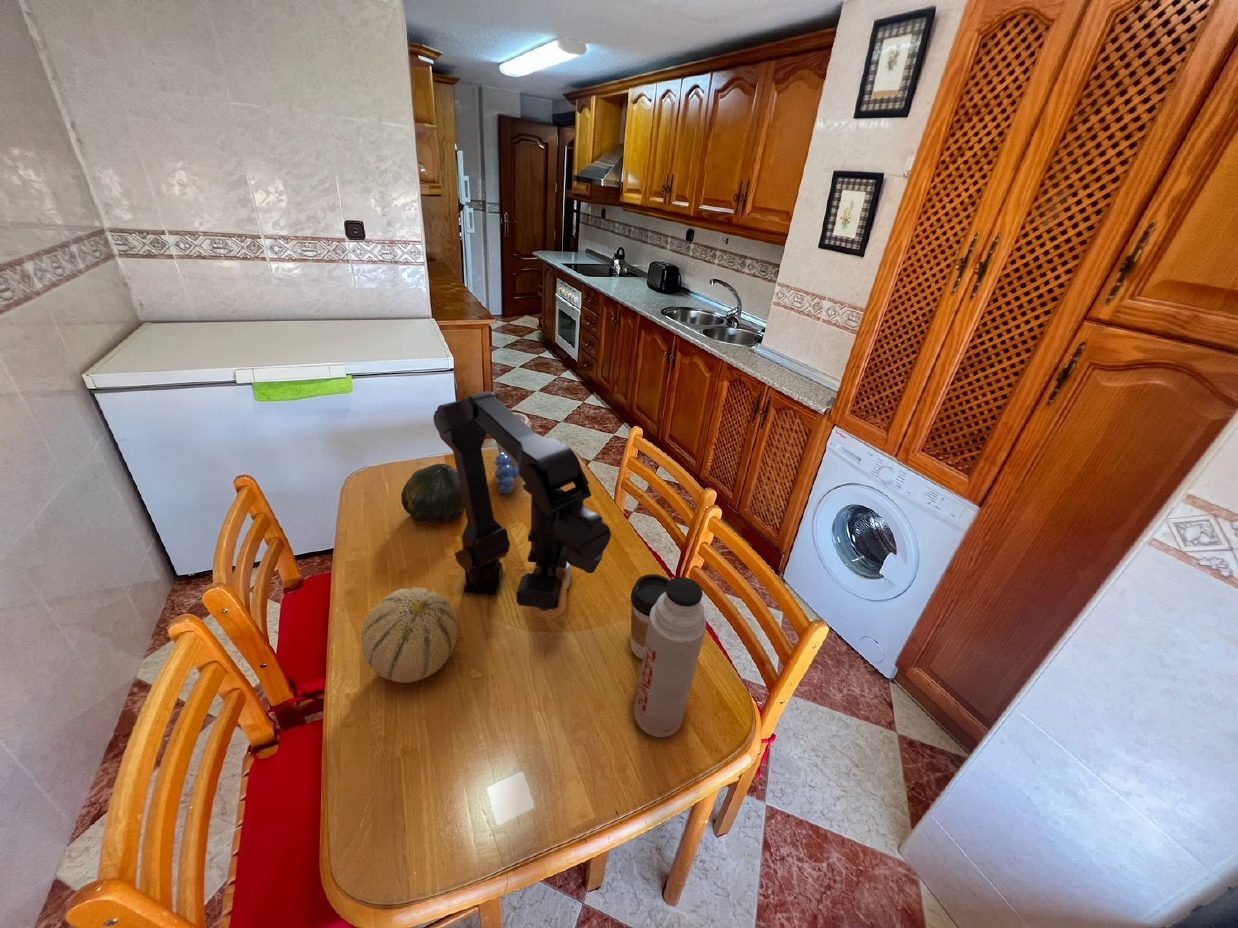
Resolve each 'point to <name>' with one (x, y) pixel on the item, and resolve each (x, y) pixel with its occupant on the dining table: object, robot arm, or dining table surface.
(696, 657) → the thermos bottle
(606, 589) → the dining table surface
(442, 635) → the cantaloupe
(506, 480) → the grapes
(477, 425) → the robot arm
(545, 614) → the cup
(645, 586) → the coffee cup
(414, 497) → the squash
